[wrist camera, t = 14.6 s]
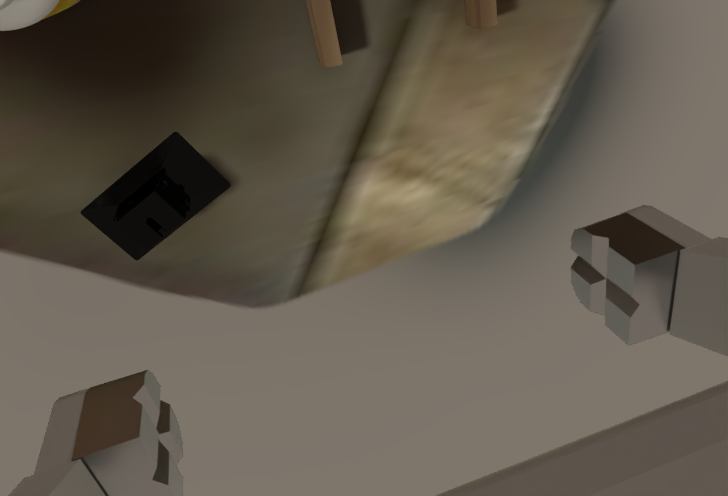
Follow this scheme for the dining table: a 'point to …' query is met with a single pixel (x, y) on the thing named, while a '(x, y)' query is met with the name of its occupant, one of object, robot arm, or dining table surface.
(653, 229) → the robot arm
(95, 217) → the black box
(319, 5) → the bay
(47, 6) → the supplement bottle
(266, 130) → the dining table surface
